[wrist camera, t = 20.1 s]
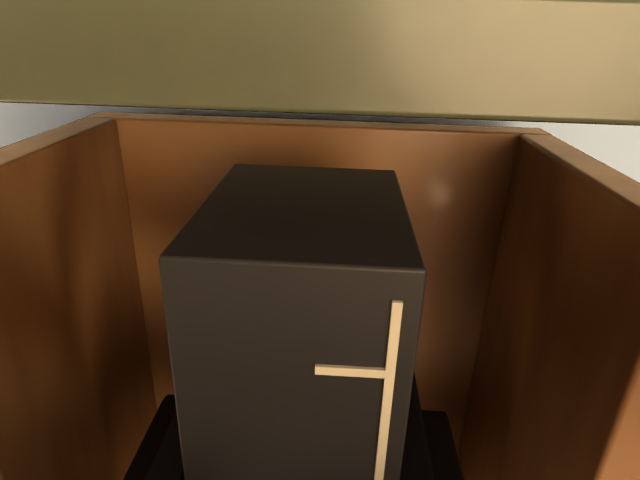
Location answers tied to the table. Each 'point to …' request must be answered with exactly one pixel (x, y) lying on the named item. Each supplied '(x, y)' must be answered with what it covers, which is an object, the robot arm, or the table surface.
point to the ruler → (294, 325)
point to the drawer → (332, 152)
